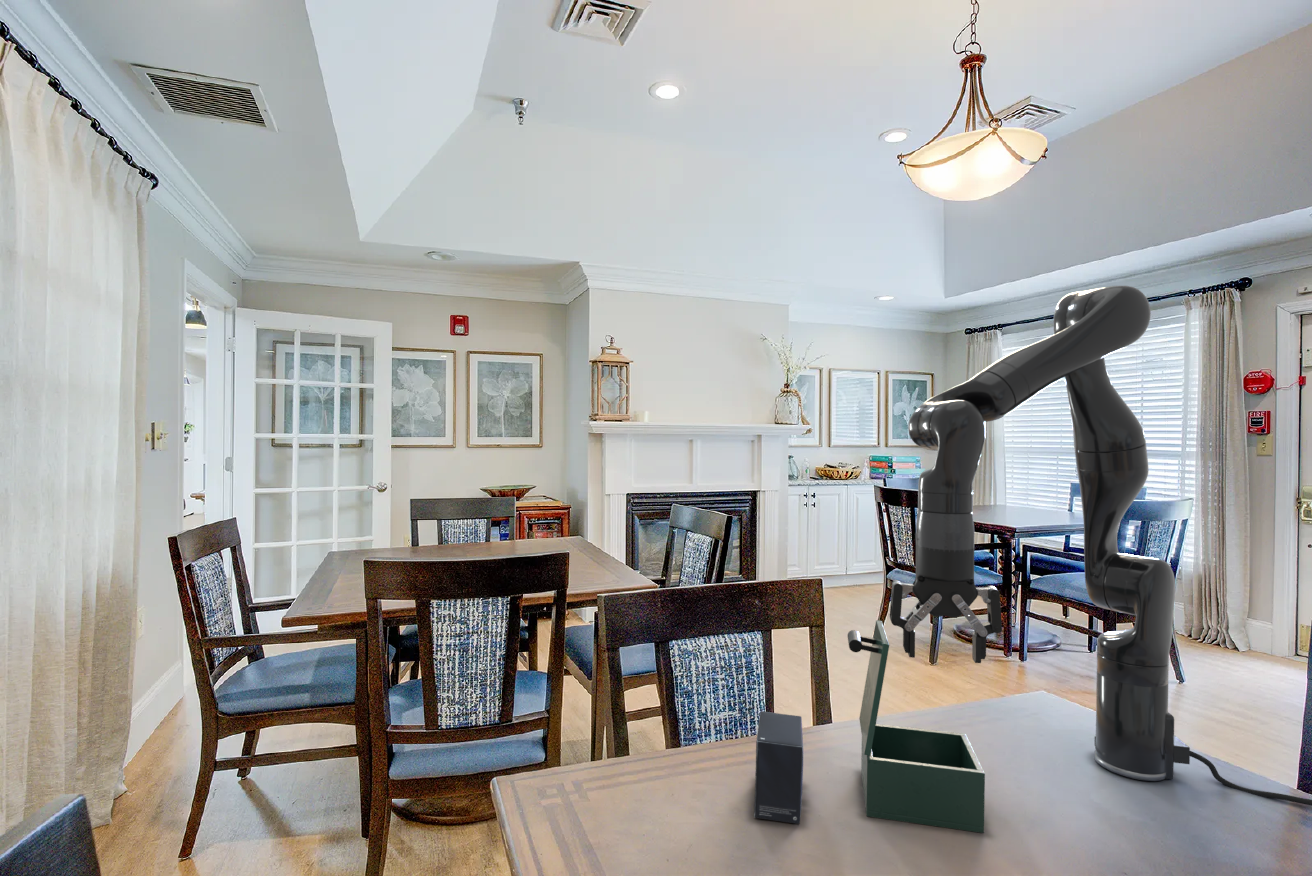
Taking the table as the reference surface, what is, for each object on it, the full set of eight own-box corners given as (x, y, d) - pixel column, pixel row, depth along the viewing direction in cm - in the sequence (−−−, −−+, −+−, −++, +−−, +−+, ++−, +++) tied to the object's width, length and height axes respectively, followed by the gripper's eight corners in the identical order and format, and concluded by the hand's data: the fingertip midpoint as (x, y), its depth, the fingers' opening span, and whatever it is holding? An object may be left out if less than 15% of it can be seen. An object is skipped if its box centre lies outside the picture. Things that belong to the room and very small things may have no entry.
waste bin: (964, 786, 98) (965, 733, 98) (984, 833, 87) (985, 773, 87) (861, 773, 102) (861, 722, 102) (866, 816, 90) (867, 758, 90)
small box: (803, 826, 88) (804, 746, 88) (753, 820, 89) (754, 741, 89) (802, 785, 98) (803, 714, 98) (757, 780, 99) (758, 709, 99)
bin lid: (881, 621, 101) (849, 614, 102) (889, 644, 90) (852, 636, 91) (864, 719, 102) (832, 711, 103) (870, 756, 90) (834, 746, 91)
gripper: (893, 545, 92) (892, 663, 92) (1007, 550, 88) (1006, 672, 88) (888, 537, 99) (887, 646, 99) (993, 541, 96) (992, 654, 96)
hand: (943, 658), depth 94 cm, fingers open, 8 cm apart
